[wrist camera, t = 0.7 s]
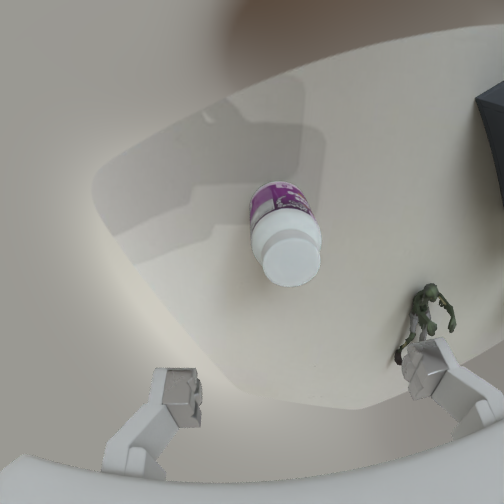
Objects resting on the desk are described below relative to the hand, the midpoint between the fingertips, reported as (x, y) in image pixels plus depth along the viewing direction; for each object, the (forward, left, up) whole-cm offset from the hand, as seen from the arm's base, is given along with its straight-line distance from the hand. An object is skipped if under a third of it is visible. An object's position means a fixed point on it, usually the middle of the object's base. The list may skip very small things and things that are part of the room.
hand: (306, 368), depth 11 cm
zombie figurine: (+27, +6, -20) cm, 34 cm away
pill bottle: (+3, -1, -20) cm, 21 cm away
